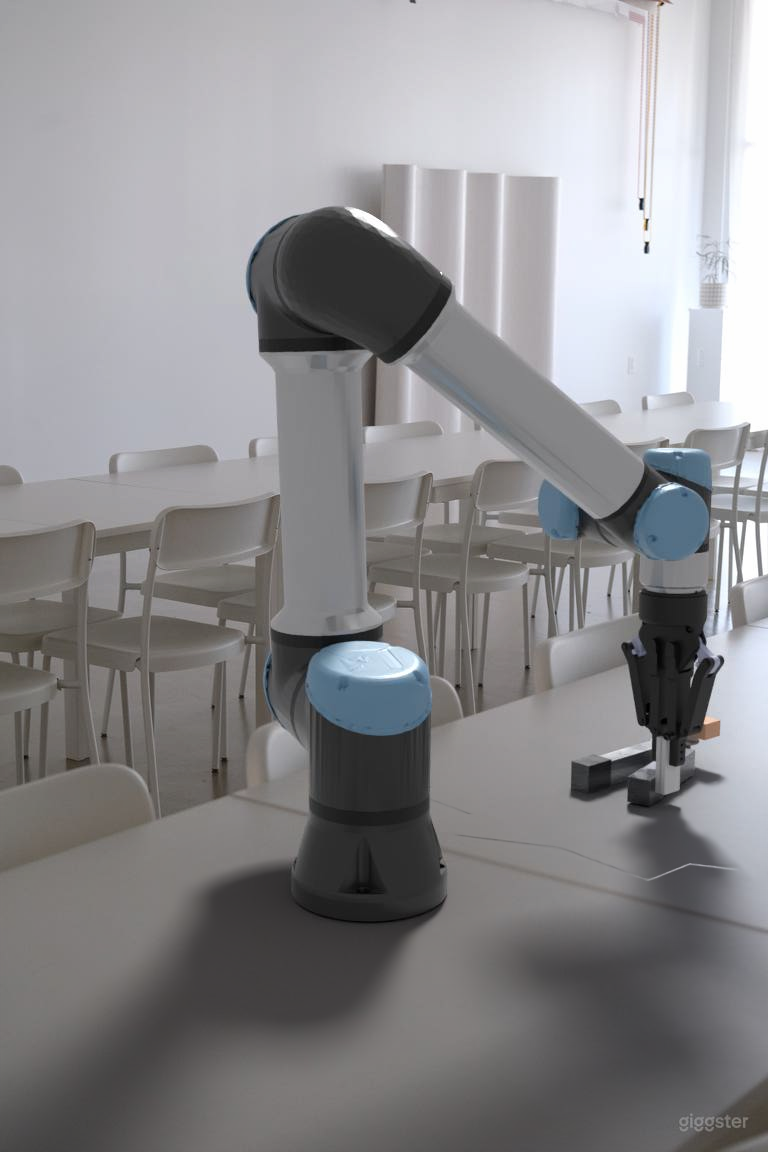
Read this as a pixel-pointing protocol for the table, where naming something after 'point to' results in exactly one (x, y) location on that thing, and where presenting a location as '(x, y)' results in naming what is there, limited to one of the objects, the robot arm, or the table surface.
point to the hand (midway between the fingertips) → (667, 791)
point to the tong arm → (644, 778)
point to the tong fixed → (609, 767)
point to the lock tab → (709, 729)
